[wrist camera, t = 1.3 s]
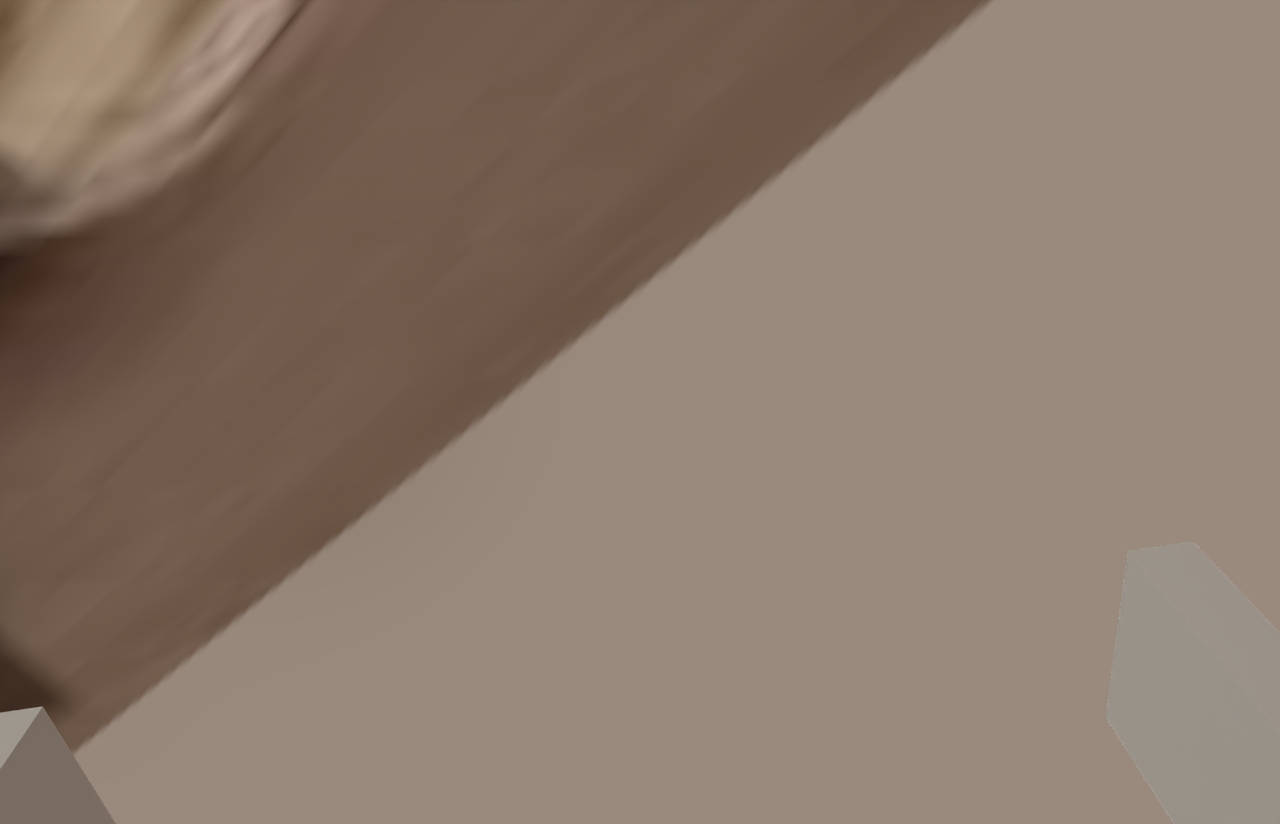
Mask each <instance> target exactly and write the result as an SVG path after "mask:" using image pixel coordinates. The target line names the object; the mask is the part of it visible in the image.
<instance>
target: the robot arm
mask: <svg viewBox="0 0 1280 824" xmlns="http://www.w3.org/2000/svg"><path fill="white" fill-rule="evenodd" d="M1106 719H1107V721H1108V722H1109V724H1110V725H1111V727H1112V728H1113V730H1114V732H1115V733H1116V735H1117V736H1118V738H1119V739H1120V741H1121V743H1122V744H1123V746H1124V747H1125V749H1126V750H1127V752H1128V754H1129V755H1130V757H1131V758H1132V760H1133V761H1134V763H1135V765H1136V766H1137V768H1138V769H1139V771H1140V772H1141V774H1142V775H1143V777H1144V779H1145V780H1146V782H1147V783H1148V785H1149V786H1150V788H1151V790H1152V791H1153V793H1154V794H1155V796H1156V797H1157V799H1158V801H1159V802H1160V804H1161V805H1162V807H1163V809H1164V810H1165V812H1166V813H1167V815H1168V816H1169V818H1170V819H1171V821H1172V823H1173V824H1280V632H1279V631H1278V630H1277V629H1276V628H1275V627H1274V626H1273V625H1272V624H1271V623H1270V622H1269V621H1268V619H1267V618H1266V617H1265V616H1264V615H1263V614H1262V613H1261V612H1260V611H1259V610H1258V609H1257V608H1256V607H1255V606H1254V605H1253V604H1252V603H1251V602H1250V601H1249V599H1248V598H1247V597H1246V596H1245V595H1244V594H1243V593H1242V592H1241V591H1240V590H1239V589H1238V588H1237V587H1236V586H1235V585H1234V584H1233V583H1232V582H1231V581H1230V579H1229V578H1228V577H1227V576H1226V575H1225V574H1224V573H1223V572H1222V571H1221V570H1220V569H1219V568H1218V567H1217V566H1216V565H1215V564H1214V563H1213V562H1212V561H1211V559H1210V558H1209V557H1208V556H1207V555H1206V554H1205V553H1204V552H1203V551H1202V550H1201V549H1200V548H1199V547H1198V546H1197V545H1196V544H1195V543H1194V542H1193V541H1191V542H1185V543H1178V544H1171V545H1165V546H1157V547H1150V548H1143V549H1136V550H1129V551H1128V555H1127V561H1126V568H1125V576H1124V583H1123V591H1122V599H1121V606H1120V613H1119V620H1118V628H1117V635H1116V643H1115V650H1114V657H1113V665H1112V673H1111V679H1110V687H1109V695H1108V702H1107V709H1106ZM0 824H116V823H115V822H114V820H113V819H112V817H111V815H110V814H109V812H108V811H107V809H106V807H105V806H104V804H103V803H102V801H101V799H100V798H99V796H98V795H97V793H96V791H95V790H94V788H93V786H92V785H91V783H90V782H89V780H88V778H87V777H86V775H85V774H84V772H83V770H82V769H81V767H80V766H79V764H78V762H77V761H76V759H75V758H74V756H73V754H72V753H71V751H70V749H69V748H68V746H67V745H66V743H65V741H64V740H63V738H62V737H61V735H60V733H59V732H58V730H57V729H56V727H55V725H54V724H53V722H52V721H51V719H50V717H49V716H48V714H47V713H46V711H45V709H44V708H43V707H36V708H29V709H22V710H15V711H8V712H1V713H0Z"/></svg>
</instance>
